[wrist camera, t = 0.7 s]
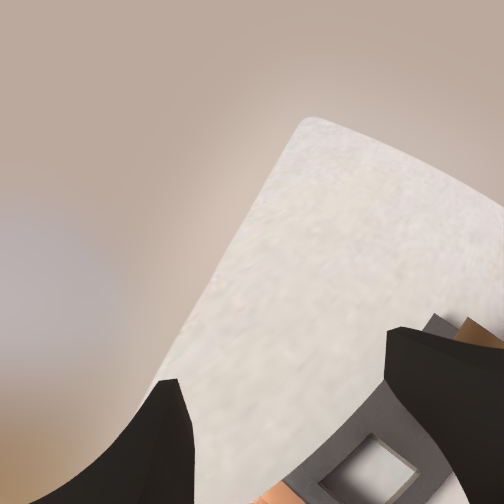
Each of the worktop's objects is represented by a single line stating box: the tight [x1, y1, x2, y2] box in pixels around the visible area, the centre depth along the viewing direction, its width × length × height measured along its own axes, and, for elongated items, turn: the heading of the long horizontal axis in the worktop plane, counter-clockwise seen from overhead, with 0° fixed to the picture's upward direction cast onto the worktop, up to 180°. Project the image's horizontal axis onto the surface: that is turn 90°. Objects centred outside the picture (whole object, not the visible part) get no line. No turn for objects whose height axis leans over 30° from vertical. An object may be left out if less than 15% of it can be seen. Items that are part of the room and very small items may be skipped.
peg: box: [453, 317, 504, 349], centre depth 17 cm, size 4×4×9 cm
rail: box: [251, 313, 459, 504], centre depth 17 cm, size 9×27×3 cm, turn 130°
